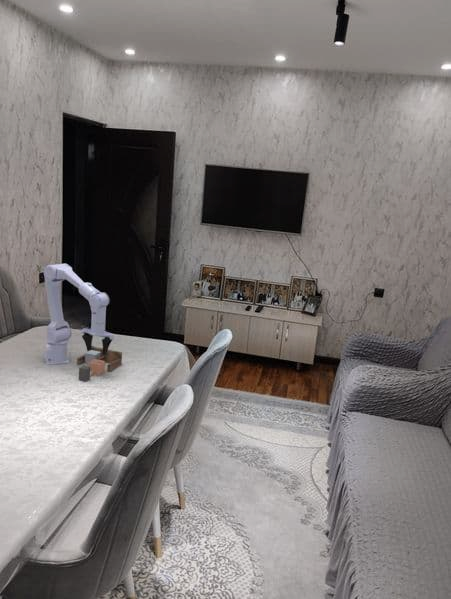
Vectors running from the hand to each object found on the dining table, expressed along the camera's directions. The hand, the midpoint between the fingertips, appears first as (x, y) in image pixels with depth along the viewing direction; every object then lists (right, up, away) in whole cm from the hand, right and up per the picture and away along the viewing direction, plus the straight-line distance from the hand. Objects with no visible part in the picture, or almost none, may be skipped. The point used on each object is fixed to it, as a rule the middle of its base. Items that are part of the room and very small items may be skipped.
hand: (96, 352), depth 198 cm
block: (-6, -6, +13) cm, 16 cm away
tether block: (-2, -10, -2) cm, 10 cm away
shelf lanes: (-2, -7, +11) cm, 13 cm away
